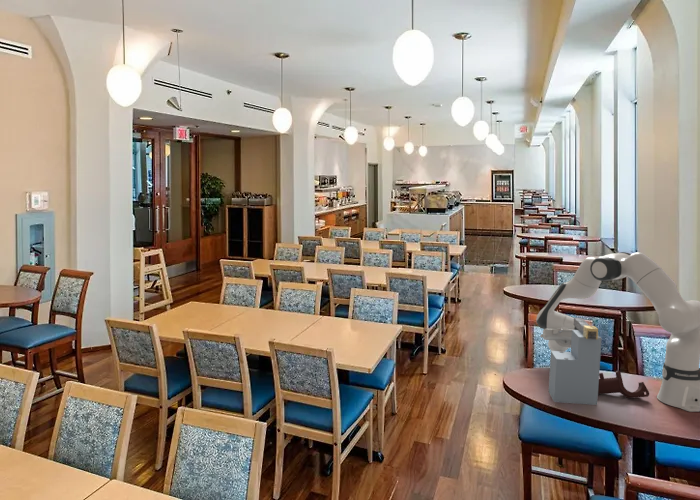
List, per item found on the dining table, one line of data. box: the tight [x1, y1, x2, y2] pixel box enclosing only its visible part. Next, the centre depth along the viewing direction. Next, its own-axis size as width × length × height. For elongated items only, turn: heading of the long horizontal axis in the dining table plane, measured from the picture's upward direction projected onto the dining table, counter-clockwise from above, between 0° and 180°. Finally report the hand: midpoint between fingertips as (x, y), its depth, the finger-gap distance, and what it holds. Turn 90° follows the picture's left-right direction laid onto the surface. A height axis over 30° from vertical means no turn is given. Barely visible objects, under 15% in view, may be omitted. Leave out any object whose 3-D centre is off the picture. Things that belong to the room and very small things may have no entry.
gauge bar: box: [573, 317, 599, 340], centre depth 199 cm, size 4×20×4 cm, turn 170°
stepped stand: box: [548, 330, 602, 406], centre depth 198 cm, size 16×10×26 cm, turn 80°
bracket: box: [598, 370, 650, 399], centre depth 202 cm, size 6×18×11 cm, turn 75°
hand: (571, 330), depth 218 cm, fingers open, 8 cm apart
